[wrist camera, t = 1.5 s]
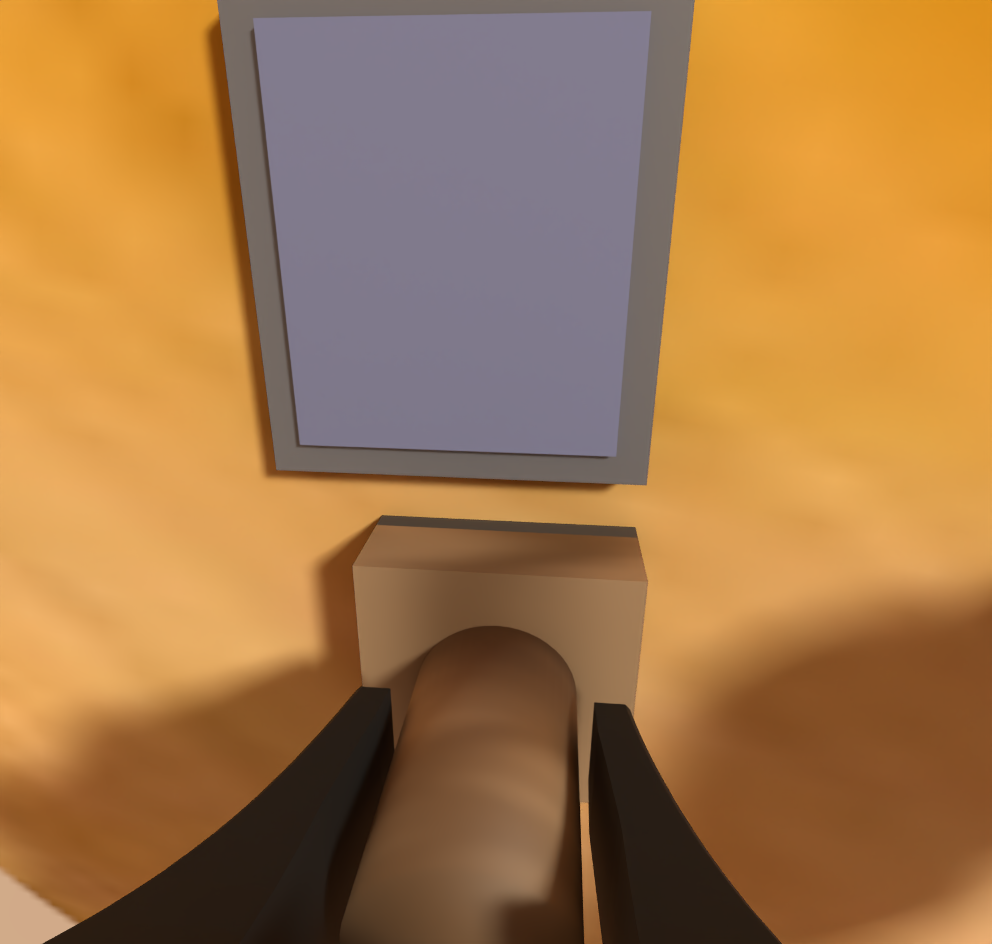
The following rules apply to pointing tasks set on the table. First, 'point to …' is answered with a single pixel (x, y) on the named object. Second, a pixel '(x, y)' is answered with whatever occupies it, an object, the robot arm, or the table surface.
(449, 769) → the stamp
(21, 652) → the table surface
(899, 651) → the table surface
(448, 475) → the ink pad
